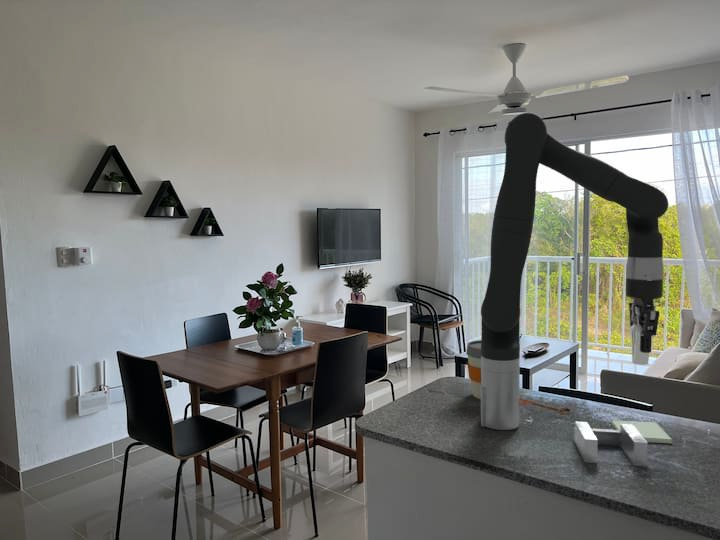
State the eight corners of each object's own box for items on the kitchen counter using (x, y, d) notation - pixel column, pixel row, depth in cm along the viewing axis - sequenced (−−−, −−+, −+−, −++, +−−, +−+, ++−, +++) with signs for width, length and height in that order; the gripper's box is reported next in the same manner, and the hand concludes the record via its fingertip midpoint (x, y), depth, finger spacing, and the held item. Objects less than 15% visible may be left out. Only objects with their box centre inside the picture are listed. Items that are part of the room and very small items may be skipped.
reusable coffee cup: (498, 405, 144) (498, 352, 143) (458, 396, 152) (458, 345, 151) (517, 393, 154) (518, 343, 152) (479, 385, 162) (479, 338, 161)
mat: (623, 440, 120) (623, 436, 120) (611, 424, 130) (611, 420, 130) (671, 443, 118) (671, 439, 118) (655, 426, 128) (655, 422, 128)
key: (512, 405, 146) (563, 419, 135) (512, 402, 146) (563, 416, 135) (523, 399, 150) (574, 412, 139) (523, 395, 150) (574, 408, 139)
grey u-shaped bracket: (584, 462, 110) (584, 439, 109) (573, 440, 121) (573, 418, 120) (647, 466, 107) (647, 442, 107) (630, 443, 118) (630, 421, 118)
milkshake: (658, 365, 120) (660, 322, 119) (635, 365, 120) (636, 322, 119) (648, 360, 125) (649, 319, 124) (625, 360, 125) (626, 319, 124)
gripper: (618, 273, 128) (616, 342, 130) (636, 279, 114) (634, 356, 116) (651, 273, 127) (649, 343, 128) (674, 280, 113) (671, 358, 114)
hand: (642, 349), depth 122 cm, fingers closed on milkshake, 4 cm apart
